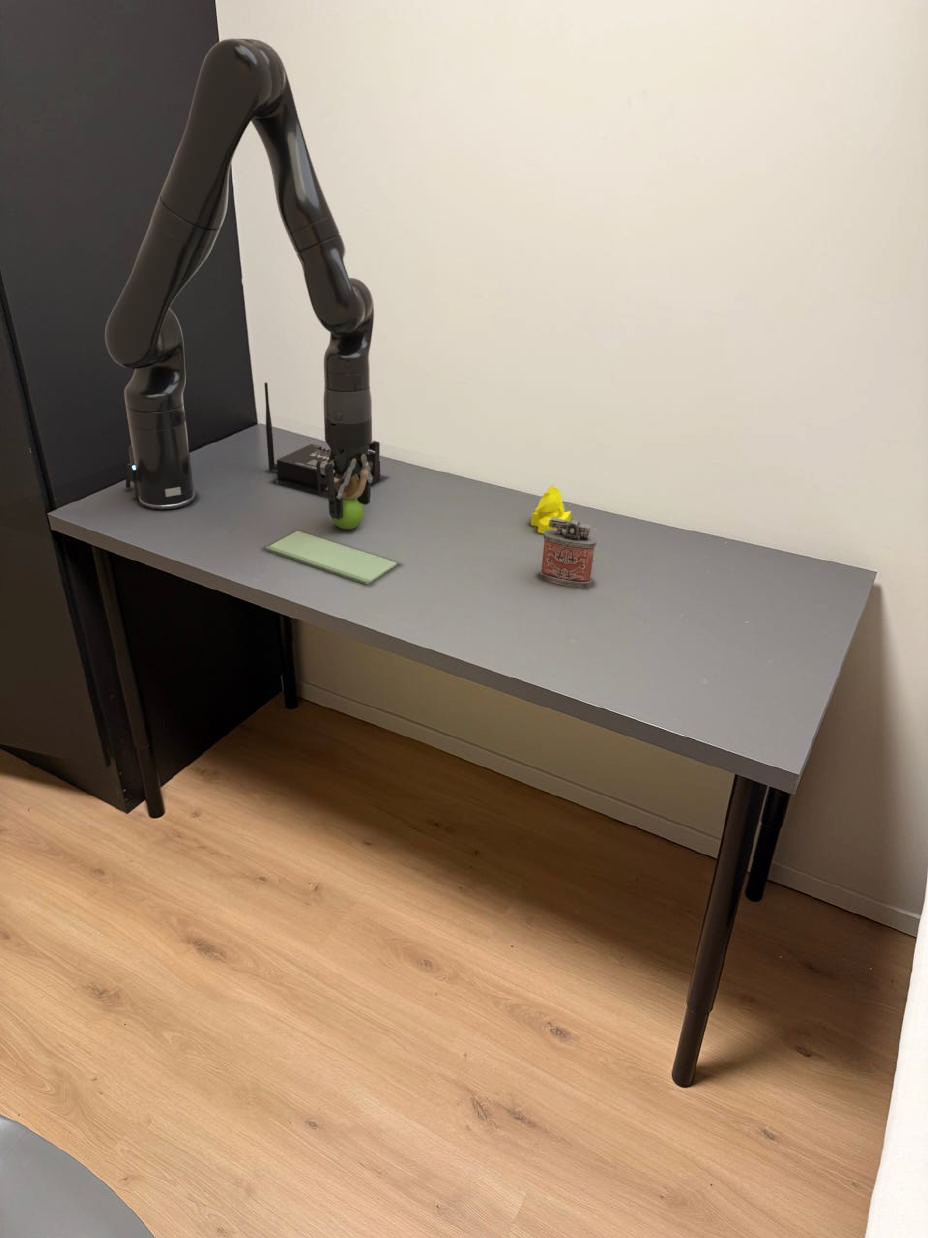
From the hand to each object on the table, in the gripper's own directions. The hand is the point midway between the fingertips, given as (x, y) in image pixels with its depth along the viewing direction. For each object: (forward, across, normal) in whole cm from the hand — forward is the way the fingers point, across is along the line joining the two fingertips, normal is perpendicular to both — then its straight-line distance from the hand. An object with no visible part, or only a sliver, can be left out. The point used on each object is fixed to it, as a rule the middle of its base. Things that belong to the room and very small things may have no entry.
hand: (350, 510), depth 153 cm
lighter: (+4, -4, +38) cm, 38 cm away
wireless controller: (+3, -14, -18) cm, 23 cm away
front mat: (+3, +10, +4) cm, 12 cm away
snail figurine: (+4, 0, 0) cm, 4 cm away
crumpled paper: (+4, -22, +27) cm, 35 cm away
